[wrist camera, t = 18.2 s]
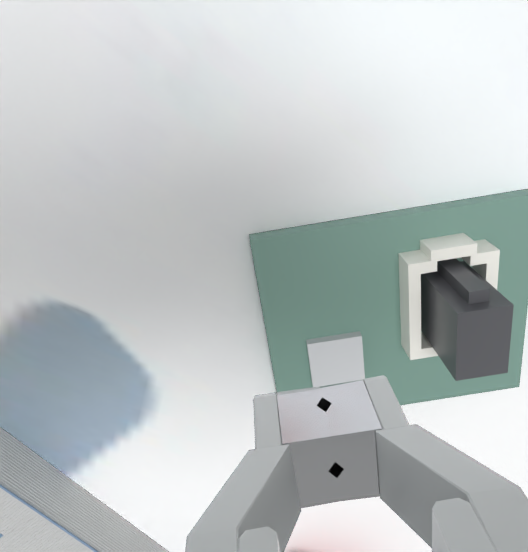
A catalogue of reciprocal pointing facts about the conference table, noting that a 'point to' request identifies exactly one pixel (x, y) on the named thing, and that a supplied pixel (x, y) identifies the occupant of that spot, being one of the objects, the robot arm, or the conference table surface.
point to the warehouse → (56, 510)
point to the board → (386, 293)
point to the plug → (466, 320)
